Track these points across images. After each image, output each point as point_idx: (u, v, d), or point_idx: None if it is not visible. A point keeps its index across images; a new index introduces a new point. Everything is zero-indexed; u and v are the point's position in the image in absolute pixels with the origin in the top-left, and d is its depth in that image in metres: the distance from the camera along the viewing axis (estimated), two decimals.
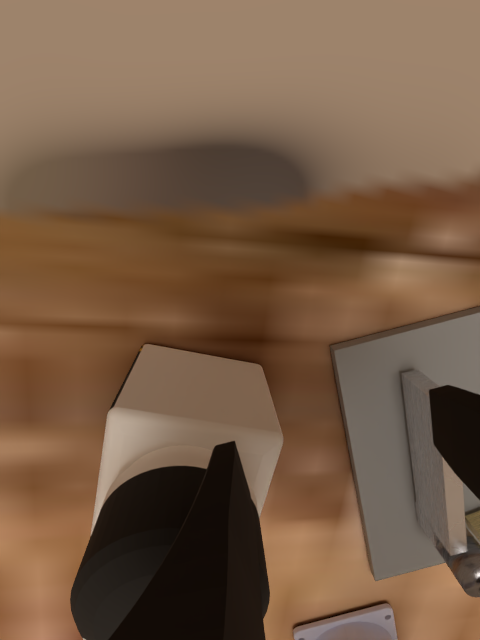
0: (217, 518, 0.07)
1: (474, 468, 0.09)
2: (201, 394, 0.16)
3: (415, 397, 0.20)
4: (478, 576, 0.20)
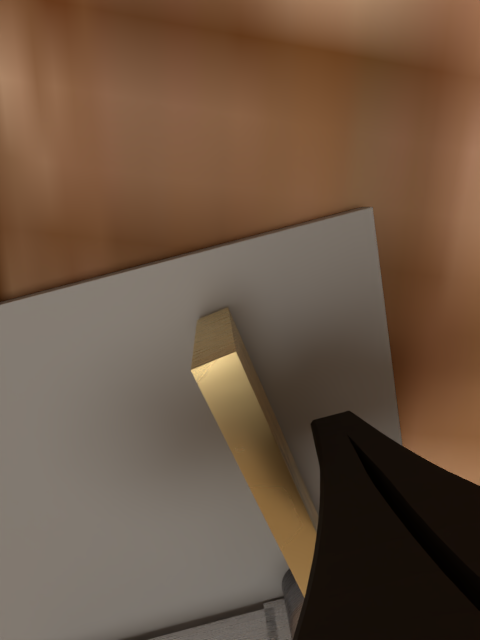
0: (359, 481, 0.07)
1: None
2: None
3: None
4: None
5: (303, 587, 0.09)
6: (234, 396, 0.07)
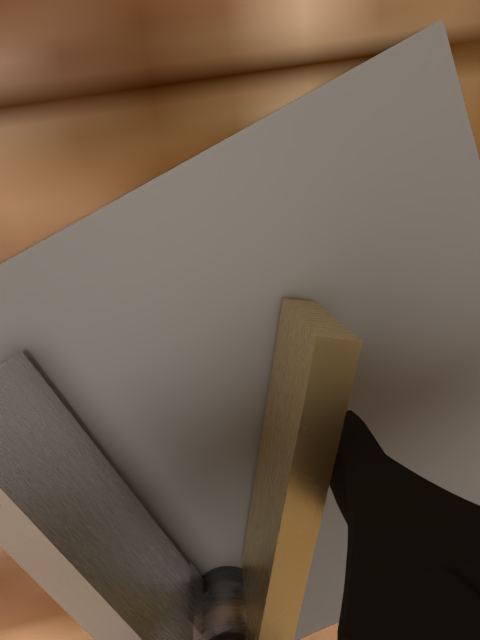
0: (386, 474, 0.07)
1: (344, 502, 0.09)
2: None
3: None
4: None
5: (273, 585, 0.09)
6: (335, 379, 0.08)
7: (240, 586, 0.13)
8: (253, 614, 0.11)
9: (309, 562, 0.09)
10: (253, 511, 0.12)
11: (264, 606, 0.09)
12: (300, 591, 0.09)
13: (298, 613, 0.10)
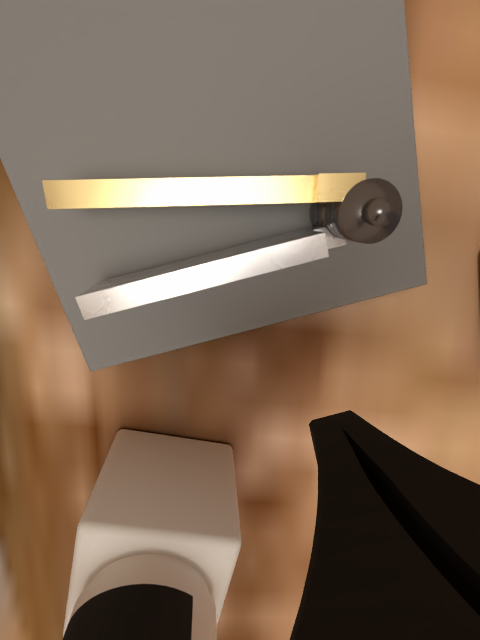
0: (357, 482, 0.07)
1: None
2: None
3: None
4: (376, 228, 0.14)
5: (230, 201, 0.14)
6: (70, 191, 0.13)
7: None
8: (286, 203, 0.15)
9: (208, 178, 0.13)
10: (238, 205, 0.16)
11: (252, 203, 0.14)
12: (236, 180, 0.13)
13: (258, 176, 0.13)
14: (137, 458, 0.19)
